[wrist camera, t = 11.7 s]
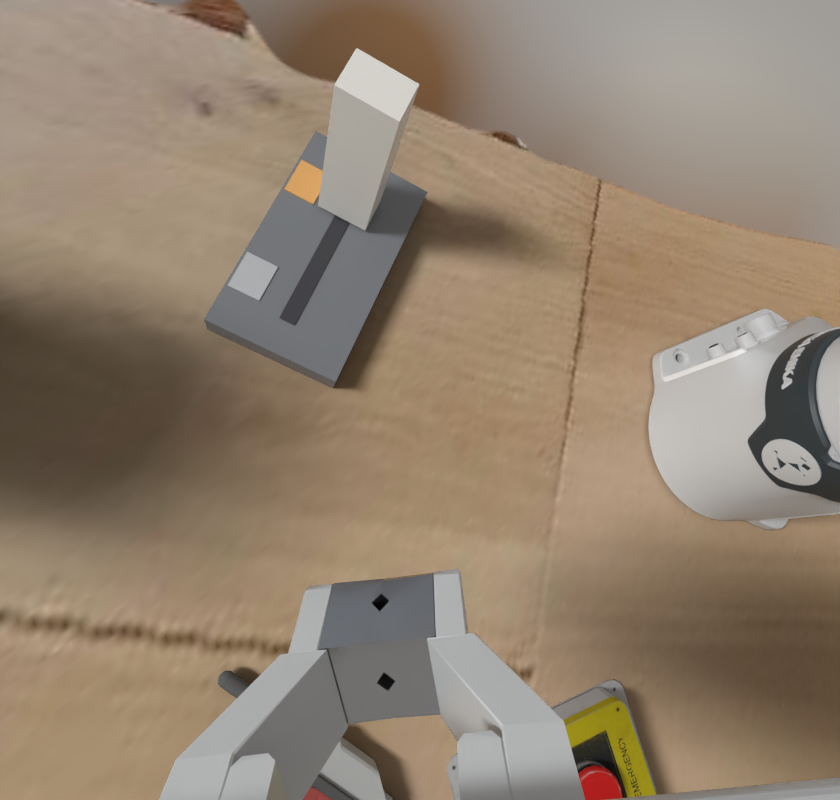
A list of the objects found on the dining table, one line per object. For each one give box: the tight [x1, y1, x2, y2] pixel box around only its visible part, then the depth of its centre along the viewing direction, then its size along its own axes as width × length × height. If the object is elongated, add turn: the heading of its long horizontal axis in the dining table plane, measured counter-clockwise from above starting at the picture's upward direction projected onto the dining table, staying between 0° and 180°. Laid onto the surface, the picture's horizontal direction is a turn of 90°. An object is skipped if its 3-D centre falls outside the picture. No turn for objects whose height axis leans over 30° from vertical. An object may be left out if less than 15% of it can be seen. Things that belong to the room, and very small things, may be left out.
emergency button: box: [447, 680, 657, 800], centre depth 37 cm, size 9×4×15 cm
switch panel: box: [204, 132, 427, 388], centre depth 41 cm, size 18×10×2 cm, turn 157°
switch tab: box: [318, 48, 419, 230], centre depth 36 cm, size 3×4×12 cm
